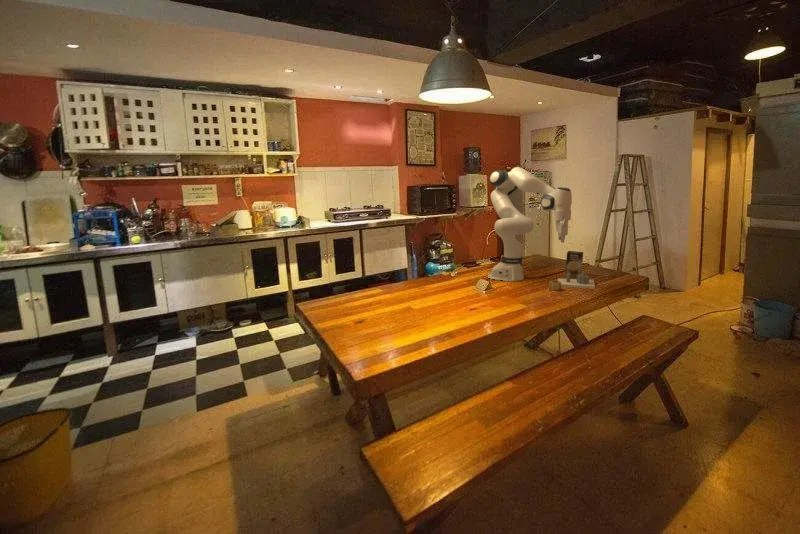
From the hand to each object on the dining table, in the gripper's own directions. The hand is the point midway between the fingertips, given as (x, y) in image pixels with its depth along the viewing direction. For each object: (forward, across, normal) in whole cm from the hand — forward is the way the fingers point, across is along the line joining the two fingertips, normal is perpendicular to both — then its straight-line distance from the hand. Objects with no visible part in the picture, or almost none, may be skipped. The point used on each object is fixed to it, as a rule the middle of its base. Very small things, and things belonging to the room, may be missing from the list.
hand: (561, 241), depth 225 cm
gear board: (+27, +6, -10) cm, 30 cm away
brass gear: (+27, -5, +3) cm, 28 cm away
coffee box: (+27, +24, -11) cm, 38 cm away
